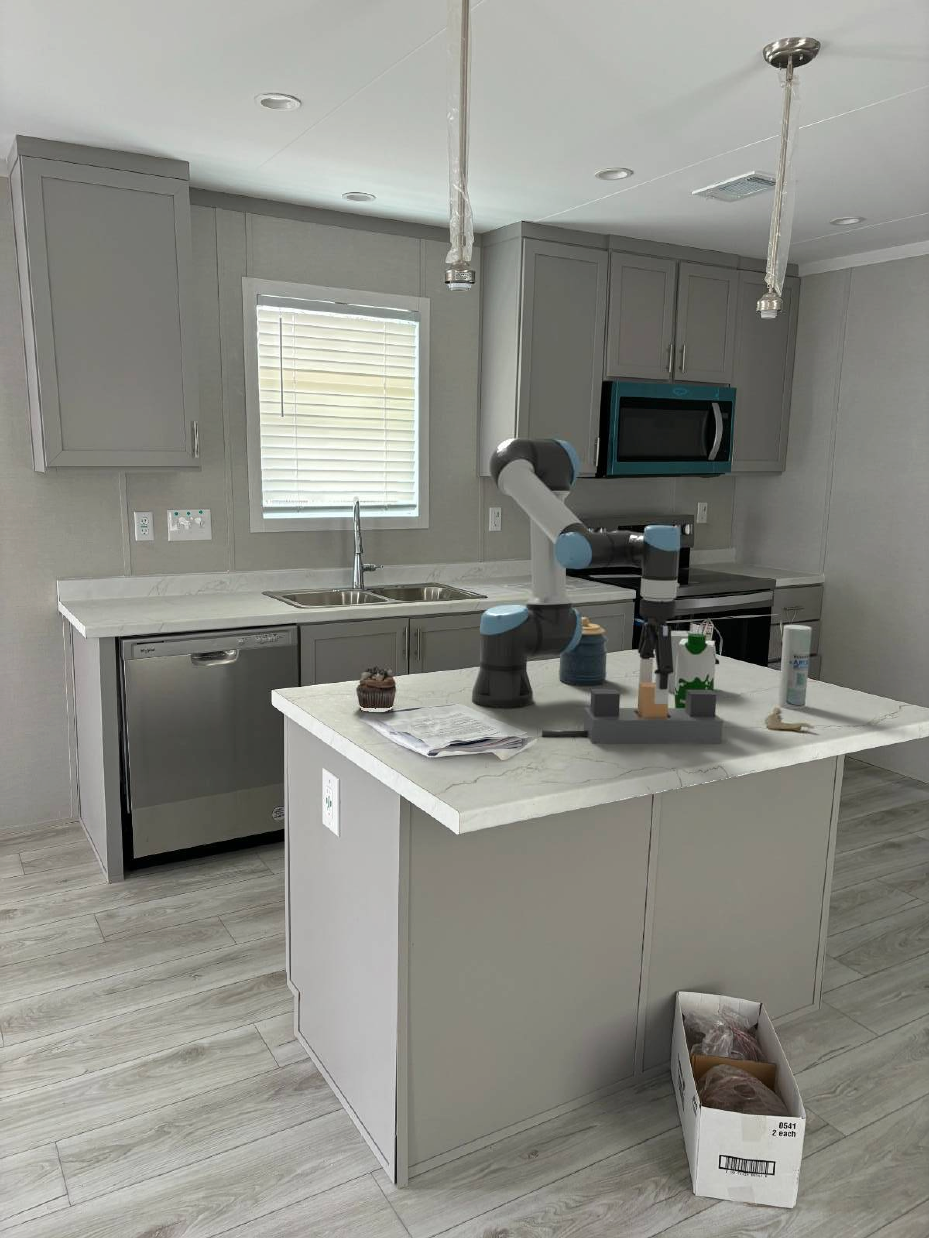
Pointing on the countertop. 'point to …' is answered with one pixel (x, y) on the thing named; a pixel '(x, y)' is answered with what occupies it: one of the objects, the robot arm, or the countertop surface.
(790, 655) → the spray can
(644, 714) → the plug
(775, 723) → the jawbone
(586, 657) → the canister
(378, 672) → the cupcake
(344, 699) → the countertop surface
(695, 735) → the power strip
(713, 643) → the milk carton
